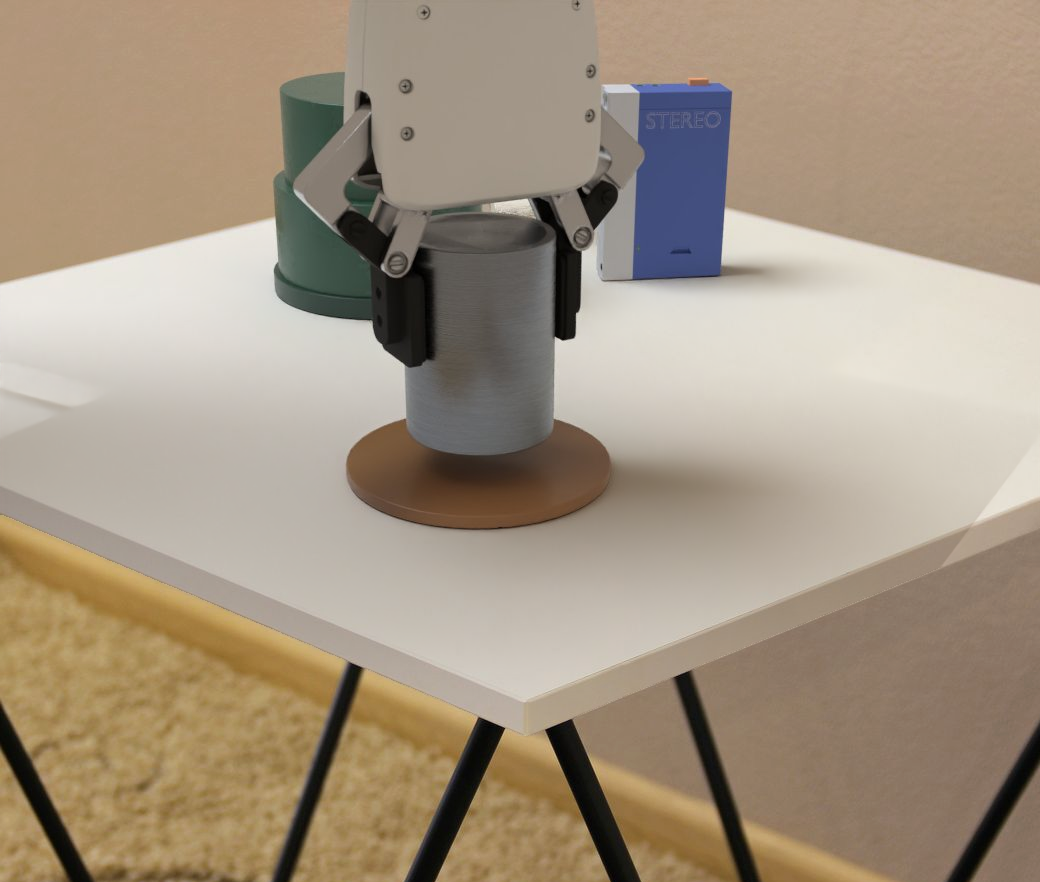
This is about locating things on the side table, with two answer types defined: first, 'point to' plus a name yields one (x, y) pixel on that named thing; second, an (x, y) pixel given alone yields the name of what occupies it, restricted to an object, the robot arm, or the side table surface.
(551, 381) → the steel cup
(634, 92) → the walkman
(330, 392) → the side table surface
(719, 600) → the side table surface
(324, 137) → the green tiered cylinder
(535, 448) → the cork coaster
